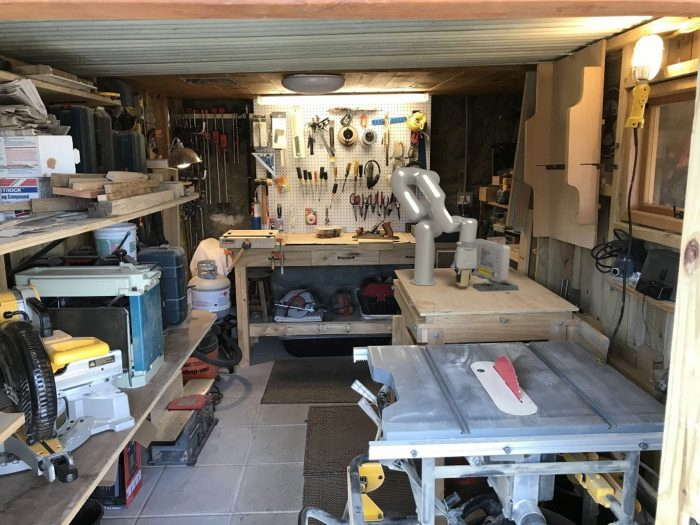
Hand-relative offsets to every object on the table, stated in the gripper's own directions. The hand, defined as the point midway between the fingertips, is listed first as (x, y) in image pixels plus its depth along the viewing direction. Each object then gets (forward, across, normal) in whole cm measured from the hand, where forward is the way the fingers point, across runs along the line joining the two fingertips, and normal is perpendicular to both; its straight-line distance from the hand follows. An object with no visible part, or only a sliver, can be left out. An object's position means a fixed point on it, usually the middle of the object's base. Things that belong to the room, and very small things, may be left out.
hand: (462, 281), depth 262 cm
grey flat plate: (+3, +17, -1) cm, 17 cm away
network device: (+4, +22, +16) cm, 27 cm away
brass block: (+2, 0, 0) cm, 2 cm away
